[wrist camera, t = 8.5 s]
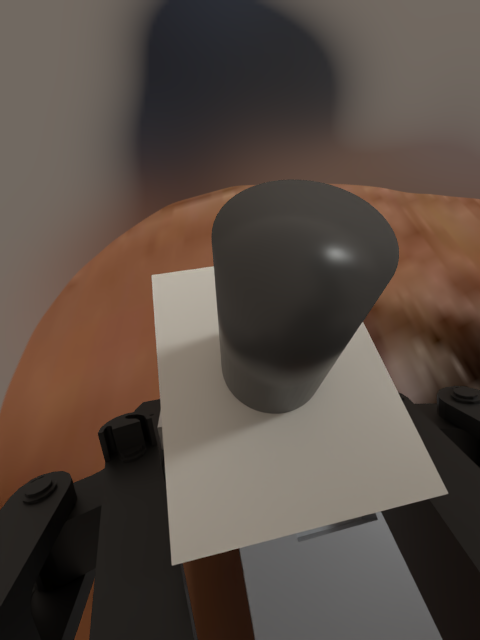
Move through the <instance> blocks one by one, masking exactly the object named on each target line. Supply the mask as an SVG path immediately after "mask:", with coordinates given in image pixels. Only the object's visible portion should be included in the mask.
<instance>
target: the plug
mask: <svg viewBox="0 0 480 640" xmlns="http://www.w3.org/2000/svg"><path fill="white" fill-rule="evenodd" d="M212 249H213V262H214V267H207V268H200V269H193V270H186V271H178V272H171V273H164V274H157V275H152V288H153V302H154V317H155V331H156V345H157V360H158V374H159V389H160V403H161V418H162V432H163V446H164V461H165V475H166V490H167V504H168V519H169V533H170V547H171V562H172V566H173V565H176V564H180V563H184V562H188V561H192V560H196V559H200V558H203V557H207V556H211V555H215V554H219V553H223V552H226V551H230V550H234V549H238V548H242V547H246V546H249V545H253V544H257V543H261V542H265V541H269V540H272V539H276V538H280V537H284V536H288V535H292V534H296V533H299V532H303V531H307V530H311V529H315V528H319V527H322V526H326V525H330V524H334V523H338V522H342V521H345V520H349V519H353V518H357V517H361V516H365V515H368V514H372V513H376V512H380V511H384V510H388V509H392V508H395V507H399V506H403V505H407V504H411V503H415V502H418V501H422V500H426V499H430V498H434V497H438V496H441V495H445V494H449V493H448V491H447V489H446V487H445V485H444V483H443V481H442V479H441V477H440V475H439V473H438V471H437V469H436V467H435V465H434V463H433V461H432V459H431V457H430V455H429V453H428V451H427V449H426V447H425V445H424V443H423V441H422V439H421V437H420V435H419V433H418V431H417V429H416V427H415V425H414V423H413V421H412V419H411V417H410V415H409V413H408V411H407V409H406V407H405V405H404V403H403V401H402V399H401V397H400V395H399V393H398V391H397V389H396V387H395V385H394V383H393V381H392V379H391V377H390V375H389V373H388V371H387V369H386V367H385V365H384V363H383V361H382V359H381V357H380V355H379V353H378V351H377V349H376V347H375V345H374V343H373V341H372V339H371V337H370V335H369V333H368V331H367V329H366V327H365V325H364V323H363V320H364V319H365V317H366V316H367V314H368V313H369V311H370V310H371V308H372V307H373V305H374V304H375V302H376V301H377V299H378V298H379V296H380V295H381V293H382V292H383V290H384V289H385V287H386V286H387V284H388V283H389V281H390V280H391V278H392V277H393V275H394V273H395V271H396V268H397V265H398V259H399V247H398V243H397V239H396V236H395V234H394V231H393V230H392V228H391V226H390V225H389V223H388V222H387V221H386V219H385V218H384V217H383V216H382V215H381V214H380V213H379V212H378V211H377V210H376V209H375V208H374V207H373V206H371V205H370V204H369V203H368V202H366V201H365V200H363V199H361V198H360V197H358V196H356V195H354V194H352V193H350V192H348V191H346V190H343V189H341V188H338V187H335V186H332V185H329V184H325V183H320V182H314V181H307V180H278V181H272V182H267V183H263V184H259V185H256V186H253V187H250V188H248V189H246V190H244V191H242V192H240V193H239V194H237V195H235V196H234V197H233V198H231V199H230V200H229V201H228V202H227V203H226V204H225V205H224V206H223V207H222V208H221V210H220V211H219V213H218V214H217V216H216V219H215V221H214V224H213V228H212Z"/></svg>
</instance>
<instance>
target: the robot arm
mask: <svg viewBox="0 0 480 640" xmlns="http://www.w3.org/2000/svg"><path fill="white" fill-rule="evenodd" d="M398 393H399V392H398ZM399 395H400V397H401V399H402V401H403V403H404V405H405V407H406V409H407V411H408V413H409V415H410V417H411V419H412V421H413V423H414V425H415V427H416V429H417V431H418V433H419V435H420V437H421V439H422V441H423V443H424V445H425V447H426V449H427V451H428V453H429V455H430V457H431V459H432V461H433V463H434V465H435V467H436V469H437V471H438V473H439V475H440V477H441V479H442V481H443V483H444V485H445V487H446V489H447V491H448V493H449V494H445V495H441V496H438V497H434V498H430V499H426V500H422V501H418V502H415V503H411V504H407V505H403V506H399V507H395V508H392V509H388V510H384V511H381V513H382V515H383V517H384V519H385V521H386V523H387V525H388V527H389V529H390V531H391V533H392V536H393V538H394V540H395V542H396V544H397V546H398V548H399V550H400V552H401V554H402V556H403V558H404V560H405V563H406V565H407V567H408V569H409V571H410V573H411V575H412V577H413V579H414V581H415V583H416V585H417V587H418V590H419V592H420V594H421V596H422V598H423V600H424V602H425V604H426V606H427V608H428V610H429V612H430V614H431V617H432V619H433V621H434V623H435V625H436V627H437V629H438V631H439V633H440V635H441V637H442V639H443V640H480V390H477V389H473V388H468V387H466V386H460V387H459V386H453V387H446V388H443V389H441V390H439V392H438V393H437V403H436V404H414V403H413V402H412V401H411V400H410V399H409V398H407V397H406V396H404V395H403V394H401V393H399ZM98 436H99V440H100V443H101V447H102V451H103V455H104V458H105V469H103V470H101V471H100V472H98V473H96V474H94V475H92V476H89V477H87V478H84V479H82V480H80V481H77V482H75V483H73V481H72V478H71V476H70V474H69V473H67V472H64V471H59V472H51V473H48V474H43V475H41V476H38V477H37V478H34V479H32V480H30V481H29V482H28V483H27V484H25V485H24V486H22V487H21V488H19V489H18V490H17V491H16V492H15V493H14V494H13V495H12V496H11V497H10V498H9V500H8V501H7V502H6V503H5V505H4V506H3V507H2V509H1V510H0V640H74V638H75V635H76V632H77V629H78V626H79V623H80V620H81V617H82V614H83V611H84V608H85V605H86V602H87V599H88V596H89V593H90V590H91V587H92V584H93V581H94V578H95V583H94V594H93V605H92V616H91V627H90V638H89V640H198V639H197V634H196V629H195V623H194V618H193V613H192V608H191V603H190V598H189V593H188V588H187V583H186V578H185V573H184V568H183V563H180V564H176V565H173V566H172V562H171V547H170V533H169V519H168V504H167V490H166V475H165V461H164V446H163V432H162V418H161V403H160V399H158V400H153V401H148V402H143V403H142V404H141V405H140V406H139V407H138V408H137V409H136V410H135V412H133V413H128V414H124V415H121V416H118V417H116V418H114V419H112V420H110V421H109V422H107V423H106V424H105V425H104V426H102V427H101V429H100V430H99V432H98Z"/></svg>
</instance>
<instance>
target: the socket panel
mask: <svg viewBox="0 0 480 640" xmlns="http://www.w3.org/2000/svg"><path fill="white" fill-rule="evenodd" d="M239 553H240V559H241V565H242V570H243V576H244V582H245V588H246V593H247V599H248V605H249V611H250V616H251V622H252V628H253V634H254V639H255V640H443V639H442V637H441V635H440V633H439V631H438V629H437V627H436V625H435V623H434V621H433V619H432V617H431V614H430V612H429V610H428V608H427V606H426V604H425V602H424V600H423V598H422V596H421V594H420V592H419V590H418V587H417V585H416V583H415V581H414V579H413V577H412V575H411V573H410V571H409V569H408V567H407V565H406V563H405V560H404V558H403V556H402V554H401V552H400V550H399V548H398V546H397V544H396V542H395V540H394V538H393V536H392V533H391V531H390V529H389V527H388V525H387V523H386V521H385V519H384V517H383V515H382V513H381V511H380V512H376V513H372V514H368V515H365V516H361V517H357V518H353V519H349V520H345V521H342V522H338V523H334V524H330V525H326V526H322V527H319V528H315V529H311V530H307V531H303V532H299V533H296V534H292V535H288V536H284V537H280V538H276V539H272V540H269V541H265V542H261V543H257V544H253V545H249V546H246V547H242V548H239Z"/></svg>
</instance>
